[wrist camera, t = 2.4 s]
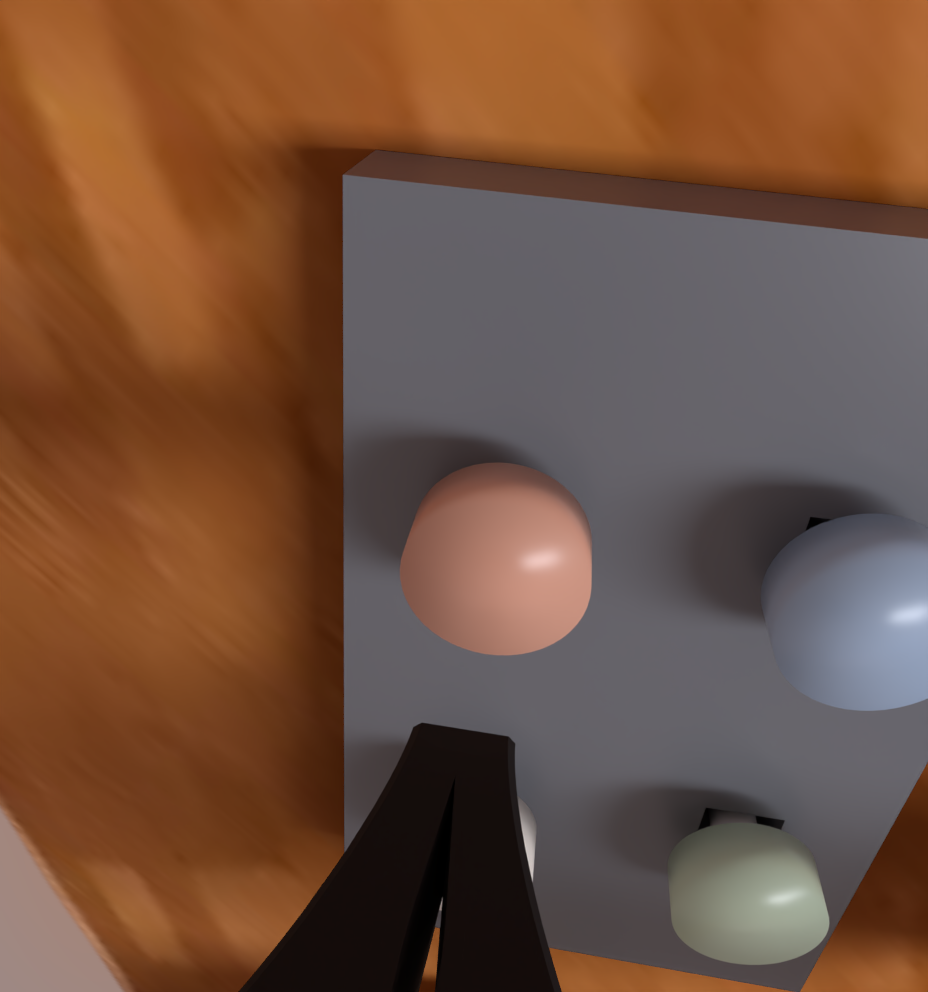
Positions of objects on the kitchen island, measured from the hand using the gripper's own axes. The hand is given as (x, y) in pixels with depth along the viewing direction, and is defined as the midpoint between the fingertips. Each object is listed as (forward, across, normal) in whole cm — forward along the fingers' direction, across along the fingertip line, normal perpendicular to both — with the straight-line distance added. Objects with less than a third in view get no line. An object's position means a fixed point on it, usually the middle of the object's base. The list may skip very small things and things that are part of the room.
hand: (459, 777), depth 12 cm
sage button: (+8, -7, +9) cm, 14 cm away
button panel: (+9, -4, +4) cm, 11 cm away
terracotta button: (+8, 0, 0) cm, 8 cm away
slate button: (+8, -7, 0) cm, 11 cm away
